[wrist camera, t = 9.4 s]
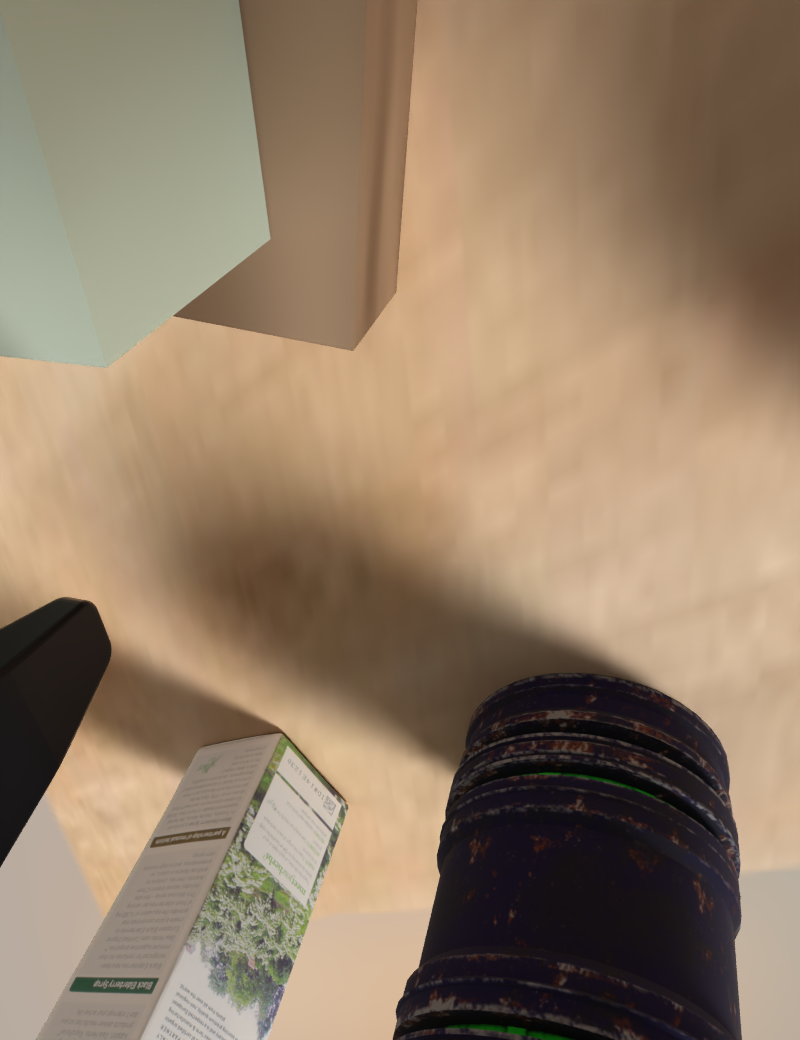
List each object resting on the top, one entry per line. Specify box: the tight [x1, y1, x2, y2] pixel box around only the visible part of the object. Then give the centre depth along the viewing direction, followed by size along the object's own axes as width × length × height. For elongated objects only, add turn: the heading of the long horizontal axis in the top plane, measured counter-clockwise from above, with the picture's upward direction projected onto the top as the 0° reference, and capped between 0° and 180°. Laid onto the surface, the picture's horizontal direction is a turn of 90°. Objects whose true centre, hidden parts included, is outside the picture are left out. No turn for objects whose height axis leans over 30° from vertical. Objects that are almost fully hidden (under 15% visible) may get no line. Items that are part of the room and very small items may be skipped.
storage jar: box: [393, 673, 742, 1040], centre depth 23 cm, size 10×10×15 cm
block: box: [173, 0, 417, 351], centre depth 16 cm, size 9×9×4 cm
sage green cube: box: [0, 0, 271, 368], centre depth 12 cm, size 5×5×6 cm
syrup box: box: [36, 733, 348, 1040], centre depth 30 cm, size 6×6×14 cm
